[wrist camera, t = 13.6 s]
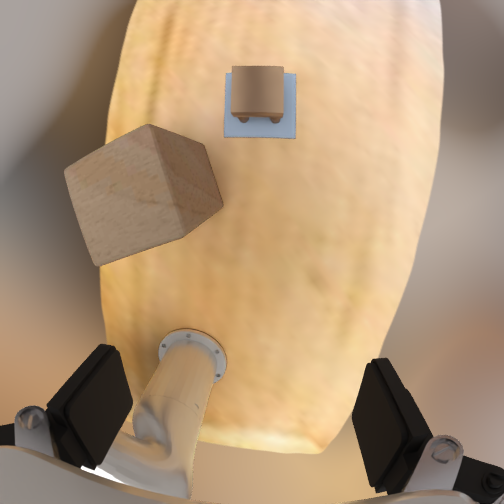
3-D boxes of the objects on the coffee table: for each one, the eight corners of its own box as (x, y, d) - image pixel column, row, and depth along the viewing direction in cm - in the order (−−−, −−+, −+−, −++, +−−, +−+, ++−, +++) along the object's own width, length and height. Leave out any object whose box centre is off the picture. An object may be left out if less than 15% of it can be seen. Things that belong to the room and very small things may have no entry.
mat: (294, 138, 39) (295, 138, 38) (224, 137, 39) (223, 136, 38) (295, 75, 36) (295, 73, 35) (226, 74, 36) (226, 72, 36)
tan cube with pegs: (281, 85, 36) (283, 66, 28) (281, 124, 38) (283, 113, 30) (239, 85, 36) (232, 66, 29) (238, 123, 38) (230, 112, 30)
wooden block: (144, 167, 41) (61, 169, 22) (203, 143, 39) (148, 120, 20) (164, 227, 43) (93, 269, 24) (224, 207, 42) (186, 237, 23)
